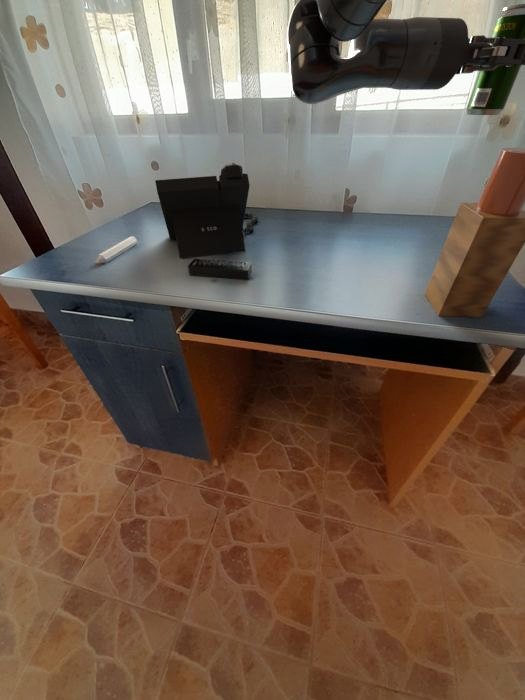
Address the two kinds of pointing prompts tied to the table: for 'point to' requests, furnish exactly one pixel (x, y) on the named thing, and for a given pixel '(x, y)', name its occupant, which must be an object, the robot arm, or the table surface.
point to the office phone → (207, 212)
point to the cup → (505, 184)
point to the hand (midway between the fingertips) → (518, 56)
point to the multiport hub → (220, 269)
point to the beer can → (498, 67)
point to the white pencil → (116, 250)
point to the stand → (474, 261)
